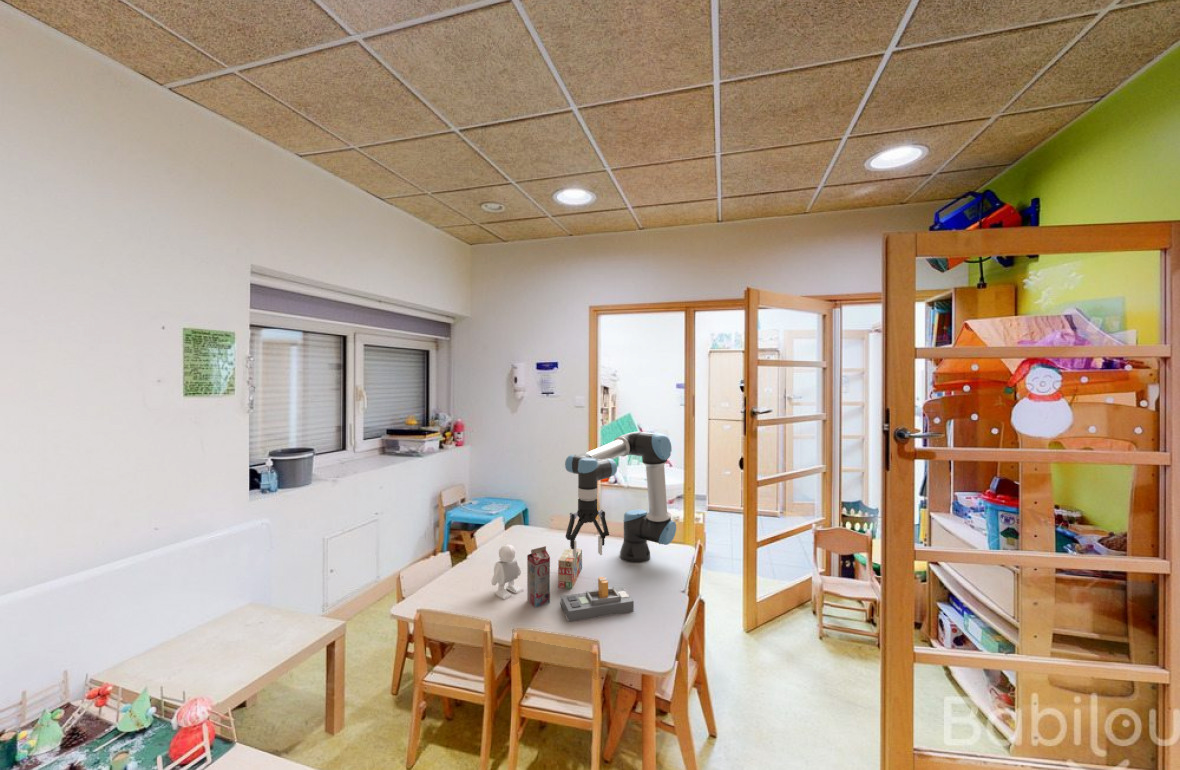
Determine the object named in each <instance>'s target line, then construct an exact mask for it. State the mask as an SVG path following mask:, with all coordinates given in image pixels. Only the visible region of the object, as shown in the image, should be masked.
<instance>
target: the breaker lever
mask: <svg viewBox="0 0 1180 770" xmlns="http://www.w3.org/2000/svg"><path fill="white" fill-rule="evenodd" d="M597 579H598V581H597V587H598V588H597V590H598V595H599V597H600V598H605V597H608V588H609V582H608V580H607V578H606V577H605V576H599V577H598V578H597Z"/></svg>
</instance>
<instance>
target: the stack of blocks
mask: <svg viewBox="0 0 1180 770" xmlns="http://www.w3.org/2000/svg"><path fill="white" fill-rule="evenodd" d="M557 564H558V569H557V573H558V580H557V583H558V584H557V587H558V588H559V589H571V590H572V589H573V588H574V586H575V584H576V581H577V580H578V577H579V575H580V573H581V571H582V569H583V548H576V558H574V557H573V549H571V547H569V548H567V549H566V548H565V549H564V550H563V552H562V554H561V555H560V557H559V559H558V563H557Z"/></svg>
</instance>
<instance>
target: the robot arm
mask: <svg viewBox="0 0 1180 770" xmlns="http://www.w3.org/2000/svg"><path fill="white" fill-rule="evenodd" d="M671 455H672V443H671V441H670V438H669V437H668V436H667V435H666V434H663V433H658V432H645V431H632V432H628V433H625V434H621V435H619V436H617V437H615V439H614V440H613V441H611V442H608V443H605V444H604V445H601V446H598V447H596V448H594V449H591V450H590V451H586V452H585V453H582V454H579V455H577V454H570V455H568V456H567V458H566V459H565V461H564V462H565V463H564V466H565V471H567V472H568V473H571V474H574V475H577V477H578V478H577V479H578V480H577V483H578V484H577V485H578V487H577V490H578V491H577V497H578V498H577V512H574V513H573V512H569V522H568V525H567V529H566V534H565V539H566V540H567V541H569V543H570V544H569V545H570V547H569V548H571V549H573V557H574V558H576V549H577V540H576V538H577V536H578V534H579V532H580V530H581V528H582V527H583V525H584V524H588V523H589V524H590V523H593V524H594V525H593V526H594V527H595V528H596V531H597V532H598V534H599V536H598V538H597V539H598V540H597V552H598V554H599V556H603V546H605V539H606V537H607V536H610V531H609V528H608V523H607V520H606V512H605V510H603V509H601V510H598V481H601V480H604V479H609V478H611V477H613V476H615V474H617V471H618V464H617V463H616V461H615V460H614V459H617V458H618V457H626V456H636V457H641V458H642V459H641V460H642V463H643V464H644V465H645V472H646V483H647V484H646V486H647V497H648V511H649V512H648V511H647V510H645V509H640V508H639V509H631V510H628V511H626V512H625V513H624V514H623V541H622V542H623V543H622V545H621V548H620V551H619V557H620V558H621V560H623V561H625V562H629V563H637V564H639V563H645V562H647V561H649V560H650V559H651V550H650V548H649V547H650V546H649V545H648V542H653V543H656V544H659V545H665V546H667V545H670V544H671V543H672V542H673V540H674V538H675V536H676V532H677V523H676V521H674V520H672V518H671V517H672V516H671V513H670V512H668V502H667V501H668V500H667V489H666V475H665V473H666V471H665V464H666V463H668V460H669V458H670V457H671ZM597 516H599V518H600V521H601V525H602V528H601V527H600V525H599V523H598V520H597ZM577 518H578V520H577V523H576V525H575V520H576V519H577ZM574 525H575V527H574ZM602 529H603V530H602Z"/></svg>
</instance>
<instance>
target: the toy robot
mask: <svg viewBox="0 0 1180 770" xmlns="http://www.w3.org/2000/svg"><path fill="white" fill-rule="evenodd" d="M498 557H499V561H497V562H495V564H494V568H493V577H492V579H491V585H492V586H494V587H495V586H497V584H498V588H497V590H496V591H494V595H496V596H498V597H499V598H501V600H506V599H508V598H510V597H512V596H511V593H510V592H512V593H514V594H516V595H517V594H520V593H522V592H524V588H522V587H519V585H516V584H515V580H517V579H518V578H519V576H521V574H522V570H521V568H520V567H519V565H518V561H517V560H516V549H515V547H514V546H513V545H511V544H508V543H506V544H504V545H502V546H501V547H500V548H499V550H498ZM507 583H508V585H507V586H506V584H507ZM505 586H506V589H507V590H506V589H505ZM509 591H510V592H509Z"/></svg>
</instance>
